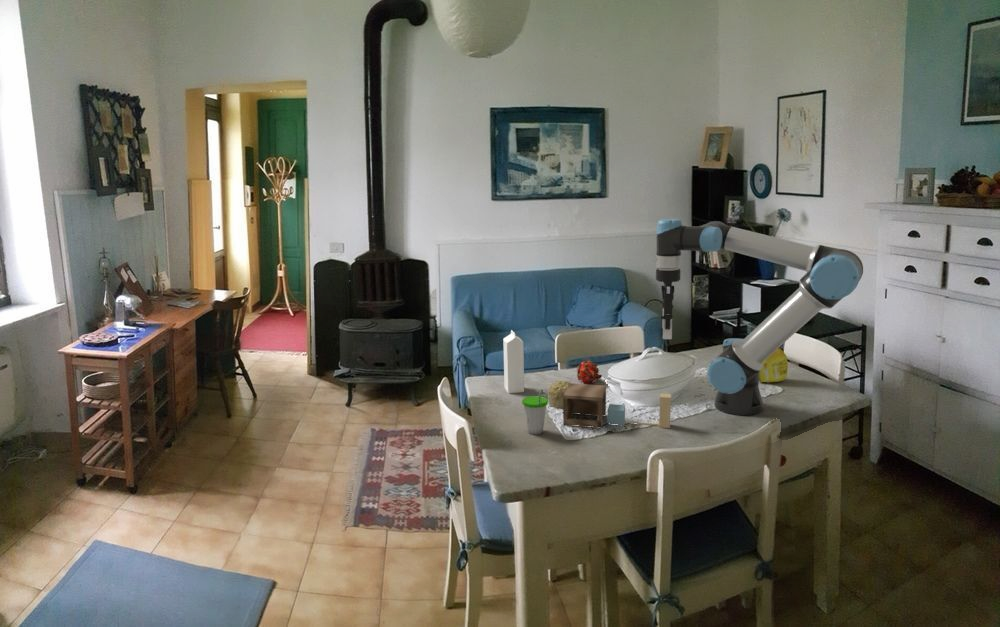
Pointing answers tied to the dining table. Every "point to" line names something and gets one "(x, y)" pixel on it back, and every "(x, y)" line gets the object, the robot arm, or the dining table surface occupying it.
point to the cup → (535, 413)
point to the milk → (513, 364)
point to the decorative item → (557, 393)
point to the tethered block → (618, 417)
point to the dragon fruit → (588, 372)
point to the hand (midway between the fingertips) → (666, 333)
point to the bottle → (774, 367)
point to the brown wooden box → (584, 404)
